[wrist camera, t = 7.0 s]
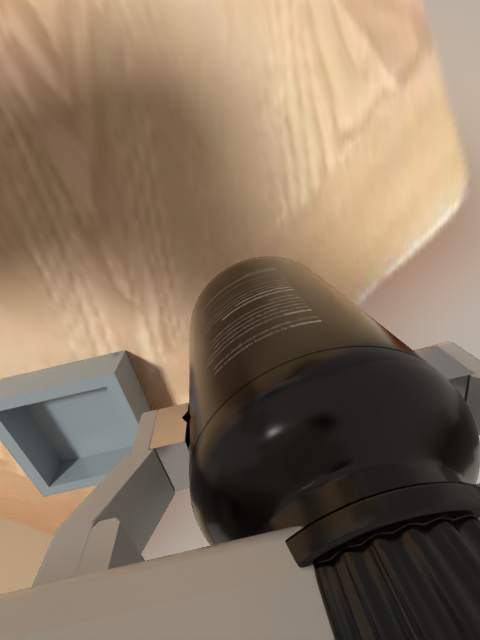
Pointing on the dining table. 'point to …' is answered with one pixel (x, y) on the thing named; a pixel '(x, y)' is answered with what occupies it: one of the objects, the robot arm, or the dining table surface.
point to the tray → (72, 420)
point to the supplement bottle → (335, 452)
